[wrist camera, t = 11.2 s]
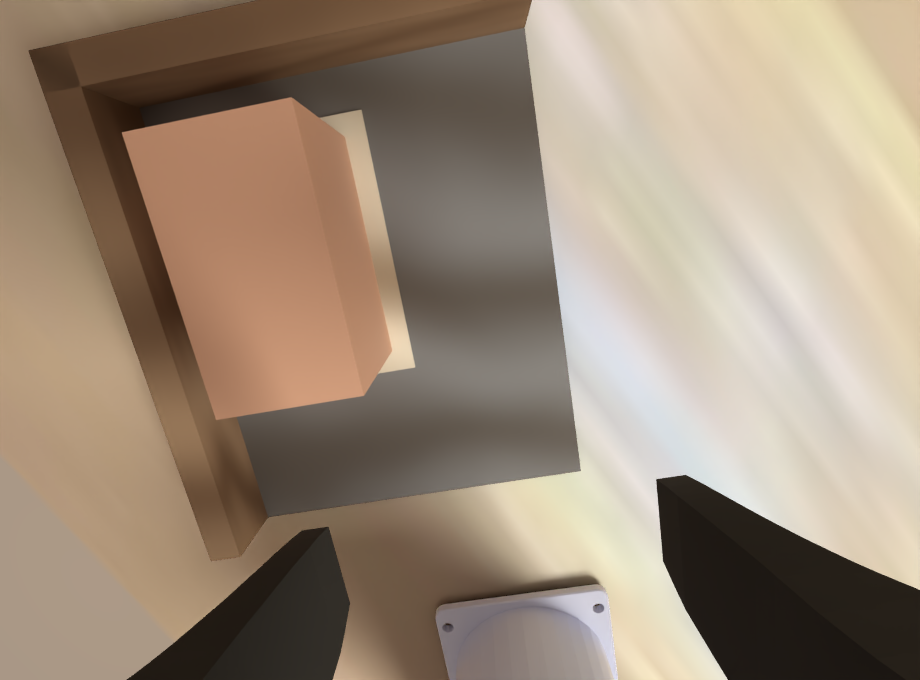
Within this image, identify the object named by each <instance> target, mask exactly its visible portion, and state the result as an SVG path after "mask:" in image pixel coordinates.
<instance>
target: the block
mask: <svg viewBox="0 0 920 680" xmlns="http://www.w3.org/2000/svg"><path fill="white" fill-rule="evenodd" d="M122 135H123V138H124V141H125V144H126V147H127V151H128V154H129V157H130V160H131V163H132V166H133V169H134V172H135V175H136V178H137V181H138V184H139V187H140V190H141V193H142V196H143V199H144V202H145V205H146V208H147V211H148V214H149V217H150V220H151V224H152V227H153V230H154V233H155V236H156V239H157V242H158V245H159V248H160V251H161V254H162V257H163V260H164V263H165V266H166V269H167V272H168V275H169V278H170V281H171V284H172V287H173V290H174V293H175V297H176V300H177V303H178V306H179V309H180V312H181V315H182V318H183V321H184V324H185V327H186V330H187V333H188V336H189V339H190V342H191V345H192V348H193V351H194V354H195V357H196V360H197V363H198V366H199V370H200V373H201V376H202V379H203V382H204V385H205V388H206V391H207V394H208V397H209V400H210V403H211V406H212V409H213V412H214V415H215V418H216V420H220V419H226V418H232V417H238V416H244V415H250V414H256V413H262V412H268V411H275V410H281V409H287V408H293V407H299V406H305V405H311V404H317V403H323V402H329V401H335V400H341V399H348V398H354V397H360V396H364V395H365V393H366V392H367V390H368V389H369V387H370V385H371V384H372V382H373V381H374V379H375V378H376V376H377V374H378V373H379V371H380V370H381V368H382V366H383V365H384V363H385V362H386V360H387V359H388V357H389V355H390V354H391V352H392V347H391V342H390V338H389V333H388V329H387V324H386V320H385V315H384V311H383V306H382V302H381V297H380V293H379V288H378V284H377V279H376V275H375V270H374V266H373V261H372V257H371V252H370V248H369V243H368V239H367V234H366V230H365V225H364V221H363V216H362V211H361V207H360V202H359V198H358V193H357V189H356V184H355V180H354V175H353V171H352V166H351V162H350V157H349V153H348V148H347V144H346V139H345V137H344V136H343V135H342V134H340V133H339V132H338V131H336V130H335V129H334V128H332V127H331V126H330V125H328V124H327V123H326V122H324V121H323V120H321V119H320V118H319V117H317V116H316V115H315V114H313V113H312V112H311V111H309V110H308V109H307V108H305V107H304V106H303V105H301V104H300V103H299V102H297V101H296V100H295V99H293V98H292V97H290V98H285V99H280V100H275V101H271V102H266V103H261V104H256V105H251V106H247V107H242V108H237V109H232V110H227V111H223V112H218V113H213V114H208V115H203V116H198V117H194V118H189V119H184V120H179V121H174V122H170V123H165V124H160V125H155V126H150V127H145V128H141V129H136V130H131V131H126V132H122Z"/></svg>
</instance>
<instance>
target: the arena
mask: <svg viewBox="0 0 920 680" xmlns="http://www.w3.org/2000/svg"><path fill="white" fill-rule="evenodd" d="M531 2H532V0H256V1H252V2H247V3H243V4H238V5H234V6H229V7H225V8H220V9H216V10H211V11H206V12H202V13H197V14H193V15H188V16H184V17H179V18H175V19H170V20H165V21H161V22H156V23H152V24H147V25H143V26H138V27H134V28H129V29H125V30H120V31H115V32H111V33H106V34H102V35H97V36H93V37H88V38H84V39H79V40H75V41H70V42H65V43H61V44H56V45H52V46H47V47H43V48H38V49H34V50H29V54H30V57H31V59H32V62H33V65H34V68H35V71H36V73H37V76H38V79H39V82H40V85H41V87H42V90H43V93H44V96H45V99H46V101H47V104H48V107H49V110H50V113H51V115H52V118H53V121H54V124H55V127H56V129H57V132H58V135H59V138H60V141H61V143H62V146H63V149H64V152H65V155H66V157H67V160H68V163H69V166H70V169H71V171H72V174H73V177H74V180H75V183H76V185H77V188H78V191H79V194H80V196H81V199H82V202H83V205H84V208H85V210H86V213H87V216H88V219H89V222H90V224H91V227H92V230H93V233H94V236H95V238H96V241H97V244H98V247H99V250H100V252H101V255H102V258H103V261H104V264H105V266H106V269H107V272H108V275H109V278H110V280H111V283H112V286H113V289H114V292H115V294H116V297H117V300H118V303H119V306H120V308H121V311H122V314H123V317H124V320H125V322H126V325H127V328H128V331H129V333H130V336H131V339H132V342H133V345H134V347H135V350H136V353H137V356H138V359H139V361H140V364H141V367H142V370H143V373H144V375H145V378H146V381H147V384H148V387H149V389H150V392H151V395H152V398H153V401H154V403H155V406H156V409H157V412H158V415H159V417H160V420H161V423H162V426H163V429H164V431H165V434H166V437H167V440H168V443H169V445H170V448H171V451H172V454H173V457H174V459H175V462H176V465H177V468H178V470H179V473H180V476H181V479H182V482H183V484H184V487H185V490H186V493H187V496H188V498H189V501H190V504H191V507H192V510H193V512H194V515H195V518H196V521H197V524H198V526H199V529H200V532H201V535H202V538H203V540H204V543H205V546H206V549H207V552H208V554H209V557H210V560H211V561H215V560H222V559H229V558H236V557H241V555H242V554H243V552H244V551H245V549H246V548H247V547H248V545H249V544H250V542H251V541H252V539H253V538H254V537H255V535H256V534H257V532H258V531H259V529H260V528H261V527H262V525H263V524H264V522H265V521H266V519H267V518H268V517H272V516H279V515H285V514H292V513H299V512H306V511H312V510H319V509H326V508H333V507H340V506H346V505H353V504H360V503H367V502H373V501H380V500H387V499H394V498H400V497H407V496H414V495H421V494H428V493H434V492H441V491H448V490H455V489H461V488H468V487H475V486H482V485H488V484H495V483H502V482H509V481H516V480H522V479H529V478H536V477H543V476H549V475H556V474H563V473H570V472H576V471H581V469H580V461H579V453H578V446H577V438H576V430H575V422H574V414H573V406H572V398H571V390H570V383H569V375H568V367H567V359H566V351H565V343H564V335H563V328H562V320H561V312H560V304H559V296H558V288H557V280H556V273H555V265H554V257H553V249H552V241H551V233H550V225H549V217H548V210H547V202H546V194H545V186H544V178H543V170H542V162H541V155H540V147H539V139H538V131H537V123H536V115H535V107H534V100H533V92H532V84H531V76H530V68H529V60H528V52H527V44H526V37H525V29H524V27H525V24H526V20H527V16H528V13H529V9H530V5H531ZM290 97H292V98H293V99H295V100H296V101H297V102H299V103H300V104H301V105H303V106H304V107H305V108H307V109H308V110H309V111H311V112H312V113H313V114H315V115H316V116H317V117H319V118H320V119H321V120H323V121H324V122H326V123H327V124H328V125H330V126H331V127H332V128H334V129H335V130H336V131H338V132H339V133H340V134H342V135H343V136H344V137H345V139H346V144H347V148H348V153H349V157H350V162H351V166H352V171H353V175H354V180H355V184H356V189H357V193H358V198H359V202H360V207H361V211H362V216H363V221H364V225H365V230H366V234H367V239H368V243H369V248H370V252H371V257H372V261H373V266H374V270H375V275H376V279H377V284H378V288H379V293H380V297H381V302H382V306H383V311H384V315H385V320H386V324H387V329H388V333H389V338H390V342H391V347H392V352H391V354H390V355H389V357H388V359H387V360H386V362H385V363H384V365H383V366H382V368H381V370H380V371H379V373H378V374H377V376H376V378H375V379H374V381H373V382H372V384H371V385H370V387H369V389H368V390H367V392H366V393H365V395H364V396H360V397H354V398H348V399H341V400H335V401H329V402H323V403H317V404H311V405H305V406H299V407H293V408H287V409H281V410H275V411H268V412H262V413H256V414H250V415H244V416H238V417H232V418H226V419H220V420H216V418H215V415H214V412H213V409H212V406H211V403H210V400H209V397H208V394H207V391H206V388H205V385H204V382H203V379H202V376H201V373H200V370H199V366H198V363H197V360H196V357H195V354H194V351H193V348H192V345H191V342H190V339H189V336H188V333H187V330H186V327H185V324H184V321H183V318H182V315H181V312H180V309H179V306H178V303H177V300H176V297H175V293H174V290H173V287H172V284H171V281H170V278H169V275H168V272H167V269H166V266H165V263H164V260H163V257H162V254H161V251H160V248H159V245H158V242H157V239H156V236H155V233H154V230H153V227H152V224H151V220H150V217H149V214H148V211H147V208H146V205H145V202H144V199H143V196H142V193H141V190H140V187H139V184H138V181H137V178H136V175H135V172H134V169H133V166H132V163H131V160H130V157H129V154H128V151H127V147H126V144H125V141H124V138H123V135H122V132H126V131H131V130H136V129H141V128H145V127H150V126H155V125H160V124H165V123H170V122H174V121H179V120H184V119H189V118H194V117H198V116H203V115H208V114H213V113H218V112H223V111H227V110H232V109H237V108H242V107H247V106H251V105H256V104H261V103H266V102H271V101H275V100H280V99H285V98H290Z"/></svg>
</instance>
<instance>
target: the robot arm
mask: <svg viewBox="0 0 920 680" xmlns="http://www.w3.org/2000/svg"><path fill="white" fill-rule="evenodd" d="M656 481H657V493H658V505H659V517H660V529H661V541H662V553H663V562H664V564H665V566H666V568H667V571H668V573H669V575H670V577H671V579H672V582H673V584H674V586H675V588H676V590H677V592H678V595H679V597H680V599H681V601H682V603H683V605H684V607H685V609H686V611H687V613H688V614H689V616H690V618H691V619H692V621H693V623H694V624H695V626H696V628H697V629H698V631H699V633H700V634H701V636H702V638H703V639H704V641H705V643H706V644H707V646H708V648H709V649H710V651H711V653H712V654H713V656H714V658H715V659H716V661H717V662H718V664H719V666H720V667H721V669H722V671H723V672H724V674H725V676H726V677H727V679H728V680H920V590H918V589H916V588H914V587H911V586H909V585H906V584H904V583H902V582H899V581H897V580H894V579H892V578H889V577H887V576H885V575H882V574H880V573H877V572H875V571H873V570H870V569H868V568H866V567H864V566H861V565H859V564H857V563H855V562H852V561H850V560H848V559H846V558H844V557H842V556H840V555H838V554H836V553H833V552H831V551H829V550H827V549H825V548H823V547H821V546H819V545H817V544H815V543H813V542H810V541H808V540H806V539H804V538H802V537H800V536H798V535H796V534H795V533H793V532H791V531H789V530H787V529H785V528H783V527H781V526H779V525H777V524H775V523H773V522H771V521H770V520H768V519H766V518H764V517H762V516H760V515H758V514H756V513H755V512H753V511H751V510H749V509H747V508H745V507H744V506H742V505H740V504H738V503H736V502H735V501H733V500H731V499H729V498H727V497H726V496H724V495H722V494H720V493H718V492H717V491H715V490H713V489H711V488H709V487H708V486H706V485H704V484H702V483H700V482H698V481H696V480H695V479H693V478H691V477H689V476H686V475H683V476H676V477H669V478H662V479H656ZM595 604H600V605H599V606H594V605H595ZM349 605H350V602H349V598H348V595H347V591H346V588H345V584H344V581H343V577H342V573H341V570H340V566H339V563H338V559H337V556H336V552H335V548H334V545H333V541H332V538H331V534H330V531H329V527H324V528H317V529H310V530H304V531H301V532H300V533H299V534H297V535H296V536H295V537H294V538H292V539H291V540H290V541H289V542H288V543H287V544H285V545H284V546H283V547H282V548H281V549H280V550H279V551H278V552H276V553H275V554H274V555H273V556H272V557H271V558H270V559H269V560H268V561H267V562H266V563H264V564H263V565H262V566H261V567H260V568H259V569H258V570H257V571H256V572H255V573H254V574H252V575H251V576H250V577H249V578H248V579H247V580H246V581H245V582H244V583H243V584H241V585H240V586H239V587H238V588H237V589H236V590H235V591H234V592H233V593H232V594H230V595H229V596H228V597H227V598H226V599H225V600H224V601H223V602H222V603H220V604H219V605H218V606H217V607H216V608H215V609H213V610H212V611H211V612H210V613H209V614H207V615H206V616H205V617H204V618H203V619H202V620H200V621H199V622H198V623H197V624H196V625H195V626H193V627H192V628H191V629H190V630H189V631H188V632H186V633H185V634H184V635H183V636H182V637H181V638H179V639H178V640H177V641H176V642H175V643H173V644H172V645H171V646H170V647H168V648H167V649H166V650H165V651H164V652H162V653H161V654H160V655H159V656H157V657H156V658H155V659H153V660H152V661H151V662H150V663H149V664H147V665H146V666H144V667H143V668H142V669H141V670H139V671H138V672H137V673H135V674H134V675H133V676H131V677H130V678H128V679H127V680H332V679H333V676H334V673H335V670H336V666H337V663H338V660H339V656H340V653H341V648H342V643H343V638H344V633H345V628H346V622H347V617H348V611H349ZM446 623H450V624H452V625H446ZM436 624H437V628H438V632H439V637H440V641H441V646H442V650H443V654H444V659H445V663H446V667H447V672H448V676H449V680H618V675H617V666H616V658H615V650H614V641H613V633H612V625H611V616H610V608H609V600H608V595H607V593H606V590H605V588H604V587H603V586H601V585H598V584H593V585H586V586H578V587H571V588H563V589H555V590H548V591H540V592H533V593H525V594H518V595H510V596H503V597H495V598H487V599H480V600H472V601H465V602H457V603H450V604H443V605H440V606H439V607H438V608H437V610H436Z"/></svg>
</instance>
